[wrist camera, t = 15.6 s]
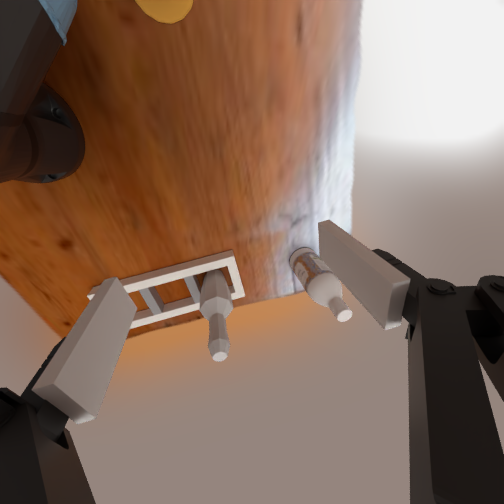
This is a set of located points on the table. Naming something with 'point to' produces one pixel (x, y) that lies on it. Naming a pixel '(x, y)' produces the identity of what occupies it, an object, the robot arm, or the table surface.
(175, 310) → the white rectangular compartment rack
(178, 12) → the cup
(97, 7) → the table surface
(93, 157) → the table surface
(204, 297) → the low poly bottle
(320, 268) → the bath foam
